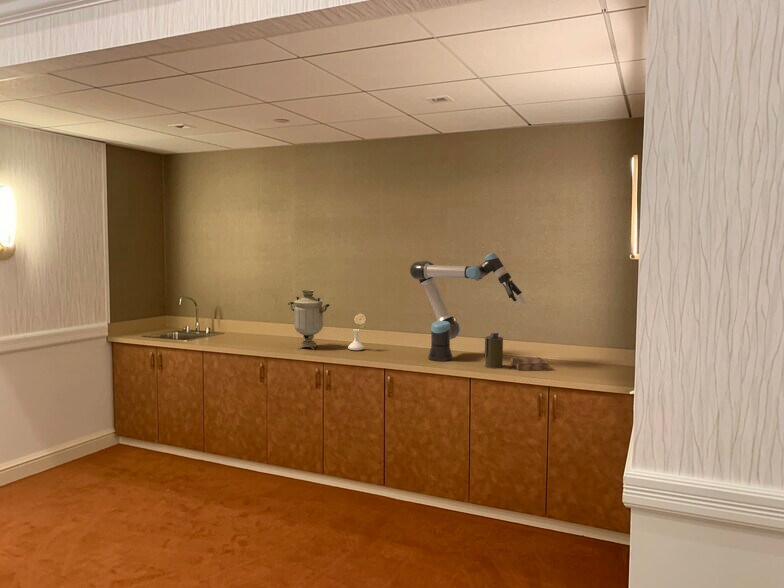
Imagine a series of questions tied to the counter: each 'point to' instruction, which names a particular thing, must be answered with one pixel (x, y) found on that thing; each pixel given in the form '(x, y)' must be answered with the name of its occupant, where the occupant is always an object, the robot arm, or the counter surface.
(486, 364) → the canister
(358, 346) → the flower in vase
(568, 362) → the counter surface
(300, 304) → the samovar
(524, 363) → the walnut base
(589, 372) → the counter surface
